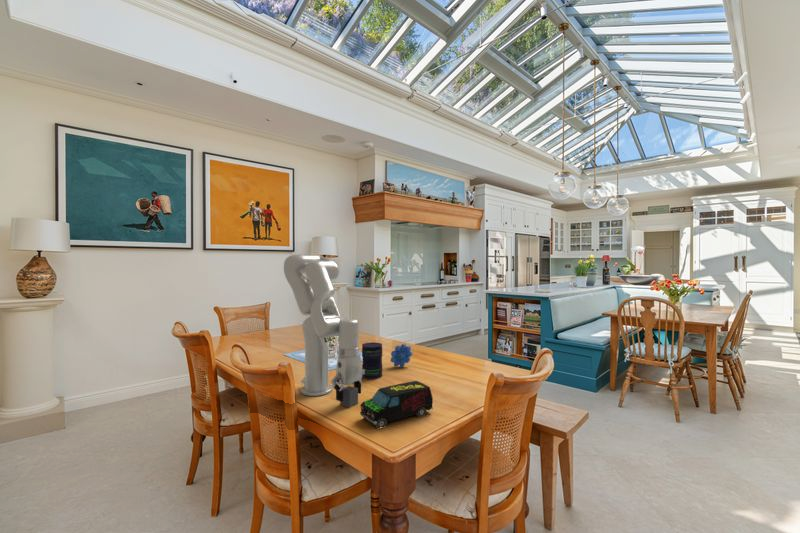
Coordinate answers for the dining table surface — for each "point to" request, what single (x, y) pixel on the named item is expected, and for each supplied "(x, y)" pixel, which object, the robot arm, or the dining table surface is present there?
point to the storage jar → (372, 360)
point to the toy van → (397, 403)
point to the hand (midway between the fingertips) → (348, 396)
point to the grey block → (349, 396)
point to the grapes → (401, 355)
